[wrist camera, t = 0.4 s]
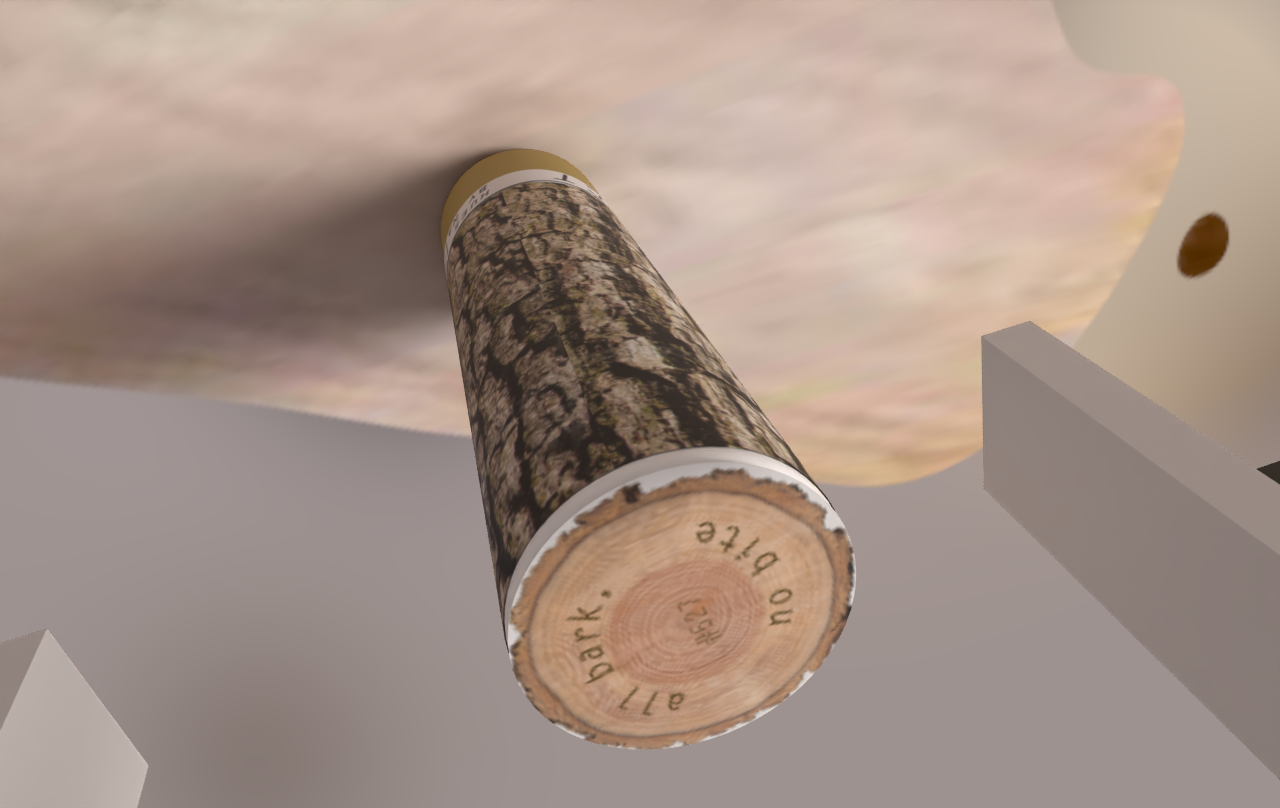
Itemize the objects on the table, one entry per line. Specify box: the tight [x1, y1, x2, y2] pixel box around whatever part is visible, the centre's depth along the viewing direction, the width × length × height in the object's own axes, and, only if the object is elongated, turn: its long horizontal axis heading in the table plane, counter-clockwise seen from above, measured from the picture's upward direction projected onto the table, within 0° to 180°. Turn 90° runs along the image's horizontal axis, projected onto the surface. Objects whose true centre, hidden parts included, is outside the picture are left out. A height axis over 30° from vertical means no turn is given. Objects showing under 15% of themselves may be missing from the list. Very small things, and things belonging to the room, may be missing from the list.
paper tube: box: [441, 149, 856, 749], centre depth 28 cm, size 7×7×25 cm
